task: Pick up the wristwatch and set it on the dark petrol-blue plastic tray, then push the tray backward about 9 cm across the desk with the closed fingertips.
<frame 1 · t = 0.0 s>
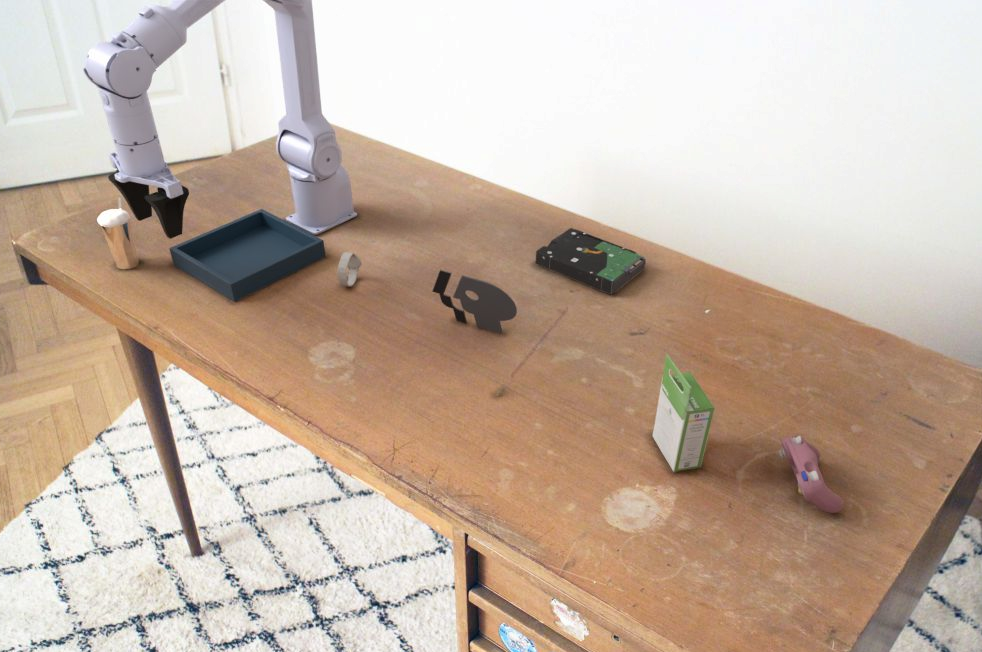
hand: (159, 226, 128), 10 cm above the table, tool pointing down, fingers open, 7 cm apart
milkshake: (129, 264, 139), on the table
tray: (250, 261, 140), on the table
ink box: (676, 453, 110), on the table
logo: (483, 345, 126), on the table
disk drive: (589, 268, 142), on the table
wristwatch: (349, 284, 136), on the table
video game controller: (804, 488, 106), on the table
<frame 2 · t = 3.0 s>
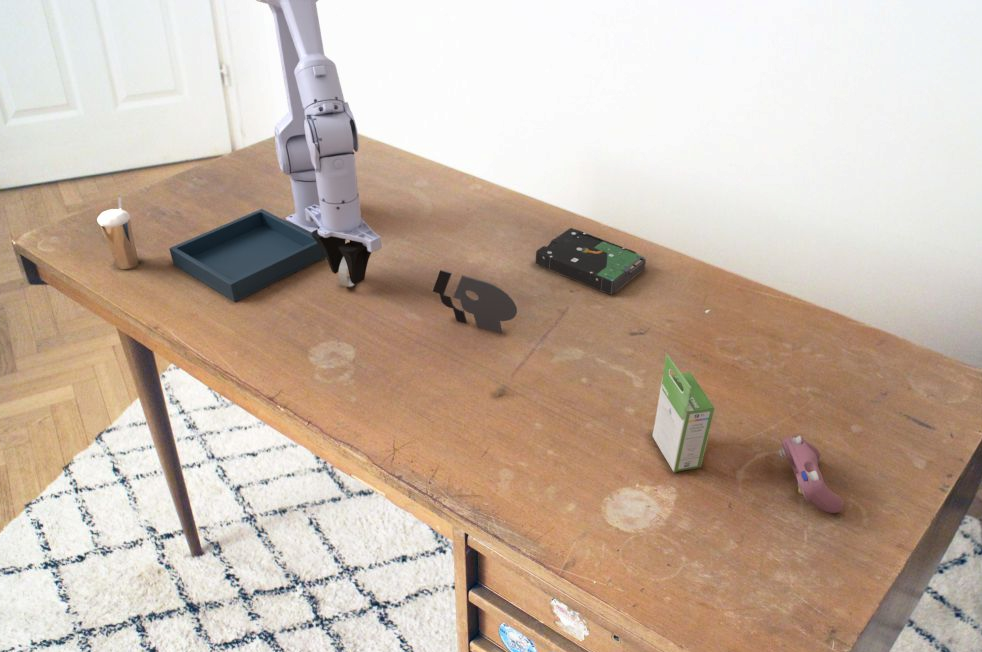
hand: (348, 275, 135), 1 cm above the table, tool pointing down, fingers closed on wristwatch, 4 cm apart
wristwatch: (349, 285, 136), on the table, touching gripper
everything else where it was.
when the fingers open (2 cm above the table, at t = 7.1 s): wristwatch stays where it is, resting on tray.
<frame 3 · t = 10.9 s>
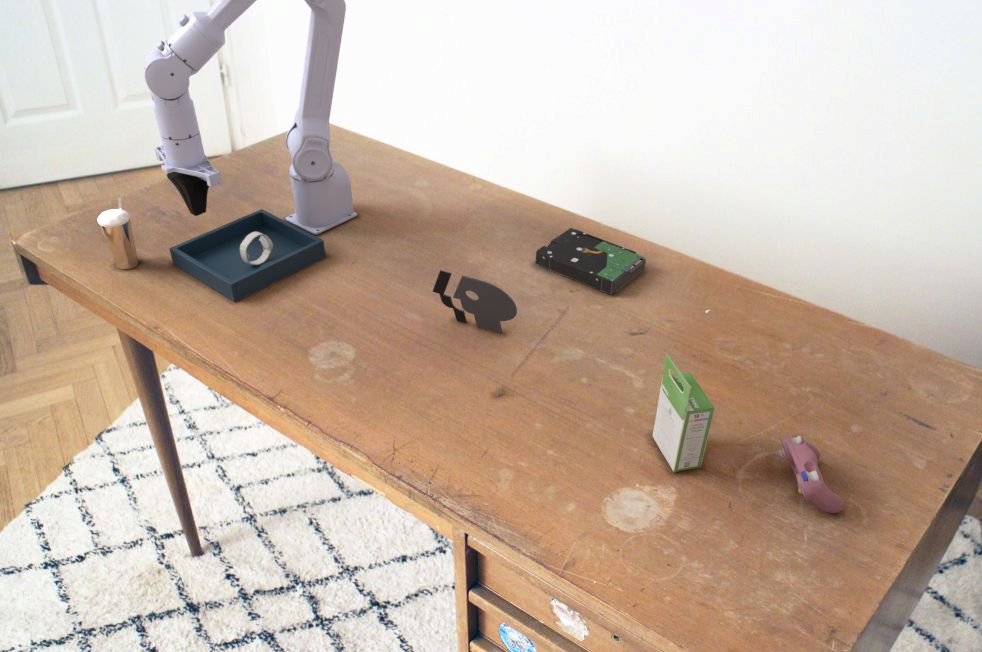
hand: (198, 212, 143), 4 cm above the table, tool pointing down, fingers closed
tray: (250, 261, 140), on the table, touching wristwatch
wristwatch: (258, 263, 139), resting on tray
everything else where it was.
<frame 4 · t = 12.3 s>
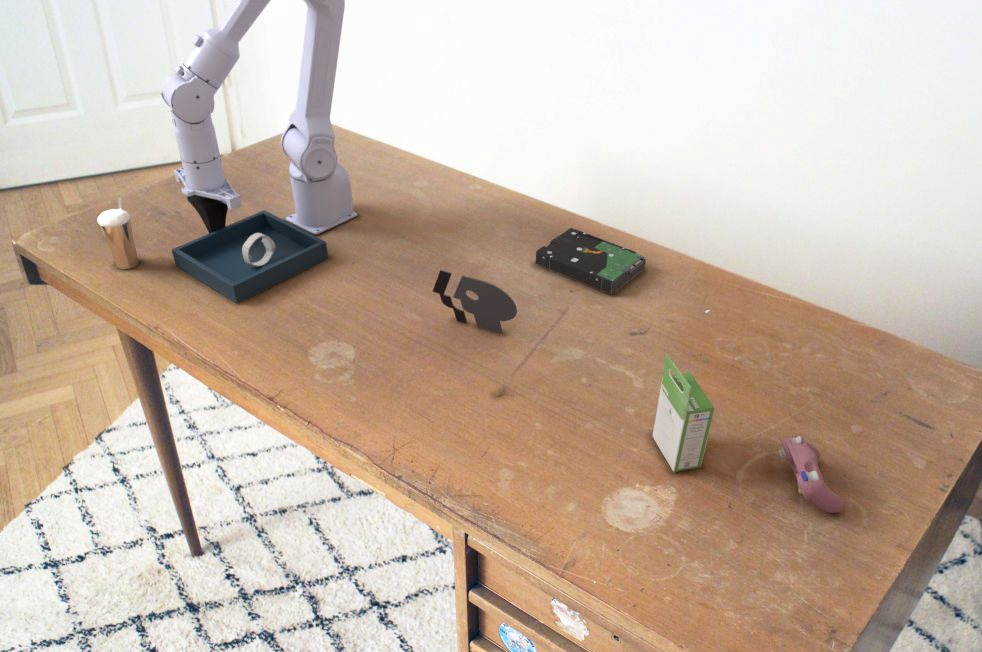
hand: (217, 234, 143), 2 cm above the table, tool pointing down, fingers closed
tray: (253, 262, 140), on the table, touching gripper, wristwatch
everything else where it was.
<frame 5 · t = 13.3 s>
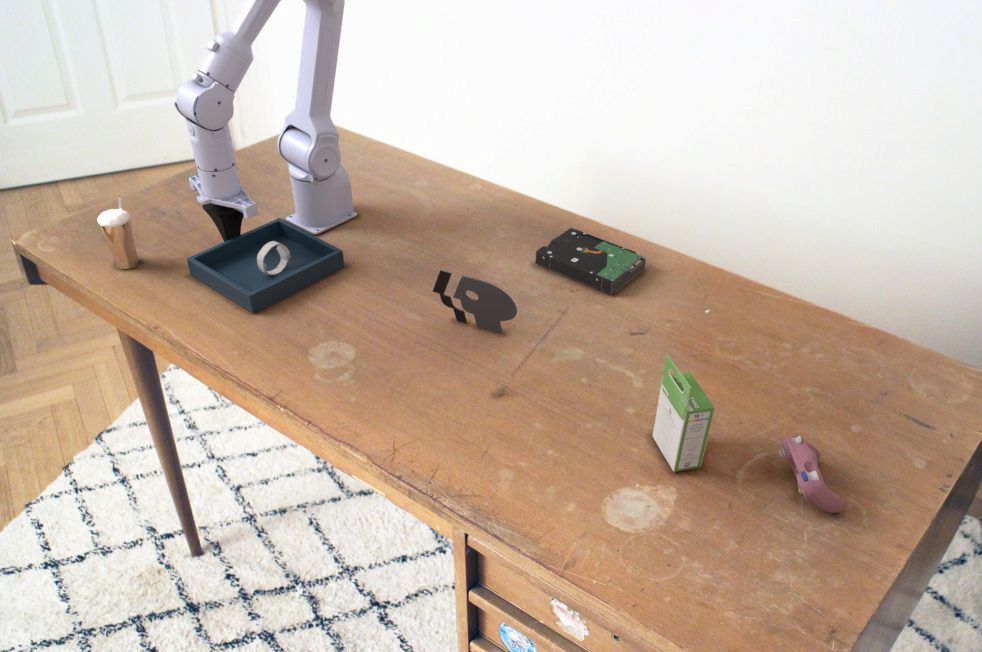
hand: (233, 243, 141), 2 cm above the table, tool pointing down, fingers closed
tray: (268, 271, 138), on the table, touching gripper, wristwatch
wristwatch: (275, 273, 137), resting on tray
everything else where it was.
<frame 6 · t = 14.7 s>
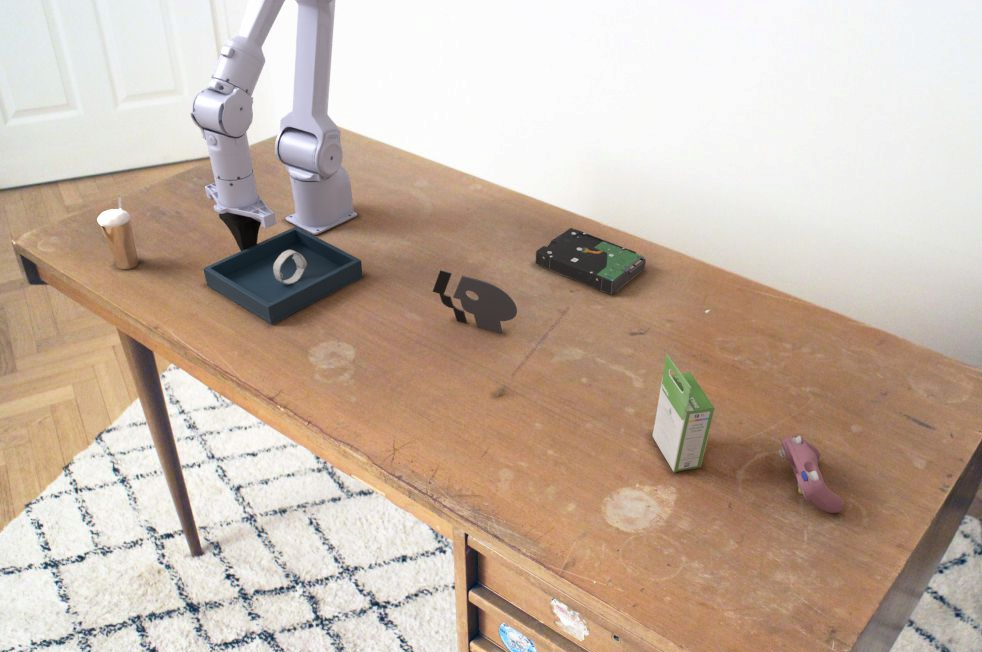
hand: (249, 252, 139), 2 cm above the table, tool pointing down, fingers closed
tray: (286, 281, 136), on the table, touching gripper, wristwatch
wristwatch: (291, 282, 135), resting on tray
everything else where it was.
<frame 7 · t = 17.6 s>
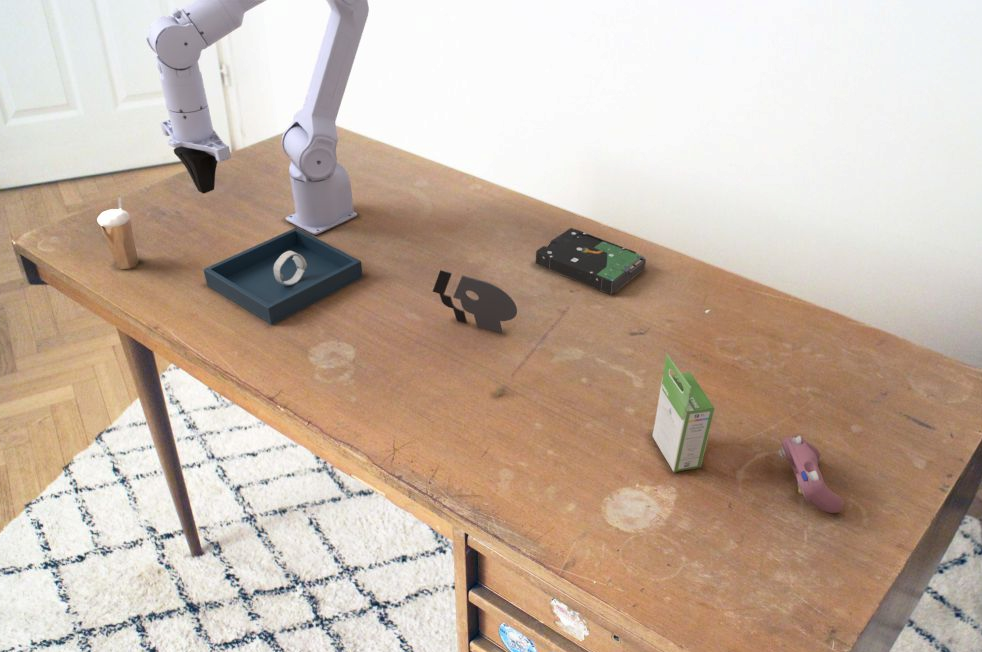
hand: (206, 190, 138), 9 cm above the table, tool pointing down, fingers closed
tray: (286, 282, 136), on the table, touching wristwatch
everything else where it was.
at the end: tray inside the target area (0.7 cm from its centre), on the table; tray moved 8.8 cm from its start; wristwatch inside the target area in the tray (1.4 cm from its centre), point 0.4 cm above the tray's base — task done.
